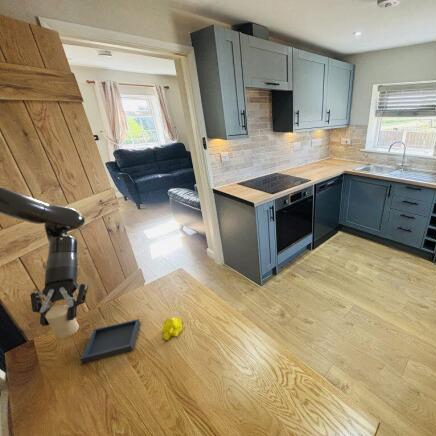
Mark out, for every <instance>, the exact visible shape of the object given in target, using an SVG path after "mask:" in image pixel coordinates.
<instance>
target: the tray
mask: <svg viewBox="0 0 436 436" xmlns="http://www.w3.org/2000/svg"><path fill="white" fill-rule="evenodd" d="M140 325H141V322H140V319H139V318H137V319H133V320H128V321H124V322H119V323H115V324H111V325H106V326H102V327H98V328H94V329H93V331H92V333H91V335H90V338H89V339H88V342H87V344H86V346H85V348H84V350H83V352H82V355H81V356H80V361H81V363H82V364H86V363H89V362H93V361H98V360H101V359H105V358H109V357H113V356H116V355H120V354H124V353H128V352H132V351H133V350H134V347H135V345H136V344H135V343H136V339H137V336H138V331H139V328H140Z"/></svg>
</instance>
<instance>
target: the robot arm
mask: <svg viewBox="0 0 436 436" xmlns="http://www.w3.org/2000/svg"><path fill="white" fill-rule="evenodd" d="M0 214H1V215H4V216H6V217H9V218H10V217H11V218H13V219H16V220H20V221H23V222H27V223H31V224H36V225H41V224H43V226H44V227H43V228H44V231H45V234H46V238H47V241H48V252H47V258H46V263H45V272H44V273H45V274H44V288H43V289H42V290H41V291H38V292H31V293H30V303H31V310H32V312H33V313H39V314H40V318H39V324H40V325H41V326H42V327H46V326H50V324H49V323H48V321H47V319H46V317H45V315H46V314H47V312H48V311H49V310H50V309H51V308H52V307H53V306H55V305H56V302H59V301H62V300H64V301H65V302H66V303H67V305H68V306H69V307H70V308H68V318H67V320H68V321H69V320H74V318H75V319H76V317H77V313H78V312H77V311H78V310H77V309H78V306H79V305H82V304H84V303H85V302H86V298H87V294H88V289H89V285H88V284H86V283H81V284H78V283H77V282H78V281H77V280H78V270H79V269H78V267H79V259H78V245H79V244H78V243H79V242H78V239H77V238H76V237H74V236H71V235H68V232H71V231H75V230H78V229H80V228H82V227H83V226H84V225H85V223H86V218H85V217H84V215H83V213H81V212H80V211H78V210H77V209H74V208H71V207H66V206H61V205H56V204H49V203H45V202H43V201H41V200H38V199H35V198H32V197H30V196H27V195H24V194H21V193H18V192H15V191H13V190H10V189H7V188H4V187H1V186H0ZM76 290H77V297H76V295H75V294H74V293H75V292H76ZM44 296H45V298H44ZM43 298H44V301H42V300H43Z"/></svg>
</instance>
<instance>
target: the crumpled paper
mask: <svg viewBox="0 0 436 436" xmlns="http://www.w3.org/2000/svg"><path fill="white" fill-rule="evenodd" d="M183 329H184V327H183V324H182V319H181V318H179V317H176V318H166V319H165V320H164V322H163V325H162V327H161V330H160V331H161V332H162V334H163V335H162V337H163V340H166V341H168V340H169V339H170V338H171V337H172V336H173V337H177V336H178V335H179V334H181V332H182V330H183Z"/></svg>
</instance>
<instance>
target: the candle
mask: <svg viewBox="0 0 436 436" xmlns="http://www.w3.org/2000/svg"><path fill="white" fill-rule="evenodd" d="M68 308H70V307H69V305H68V304H57V305H56V304H55V305H53V306H52V308H51V309H50V310H49V311H48V312H47V314H46V315H45V317H46V319H47V321H48V323H49V326H50V328H51V329H52V331H53V333H54V335H55V336H56V338H58V339H64V338H65V339H66V338H68V337H70V336H72V335H74V334H75V333H77V331H78V330H79V328H80V325H79V323H78V321H77V318H76V317H75V318H74V320H69V321H68V320H67V318H68Z"/></svg>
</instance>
